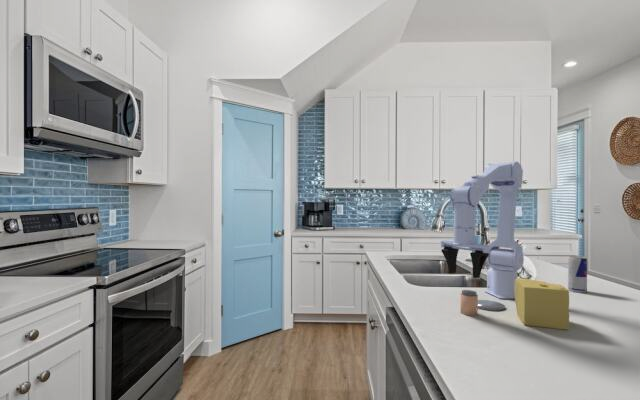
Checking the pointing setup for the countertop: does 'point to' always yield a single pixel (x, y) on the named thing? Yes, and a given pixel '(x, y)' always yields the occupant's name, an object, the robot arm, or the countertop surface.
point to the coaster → (490, 305)
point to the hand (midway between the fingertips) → (464, 275)
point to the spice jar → (469, 303)
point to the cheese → (542, 304)
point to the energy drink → (577, 274)
